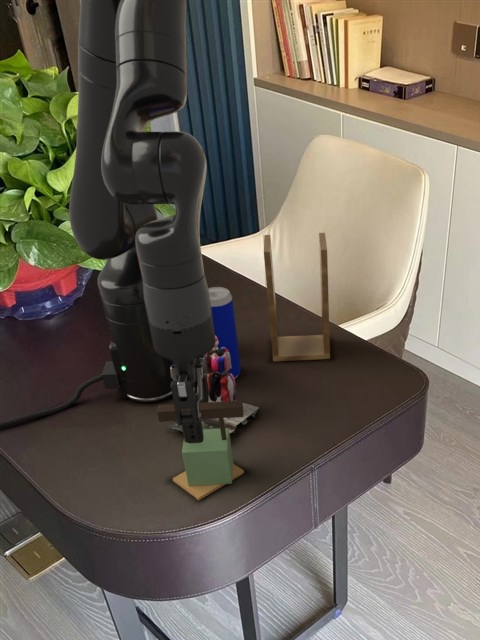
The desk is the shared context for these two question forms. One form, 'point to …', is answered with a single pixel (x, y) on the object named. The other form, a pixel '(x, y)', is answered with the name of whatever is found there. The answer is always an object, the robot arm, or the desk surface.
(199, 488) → the mat
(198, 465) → the green block with crossbars
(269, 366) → the desk surface
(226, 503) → the desk surface
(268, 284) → the wooden frame
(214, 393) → the statue
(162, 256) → the robot arm
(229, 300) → the beverage can
